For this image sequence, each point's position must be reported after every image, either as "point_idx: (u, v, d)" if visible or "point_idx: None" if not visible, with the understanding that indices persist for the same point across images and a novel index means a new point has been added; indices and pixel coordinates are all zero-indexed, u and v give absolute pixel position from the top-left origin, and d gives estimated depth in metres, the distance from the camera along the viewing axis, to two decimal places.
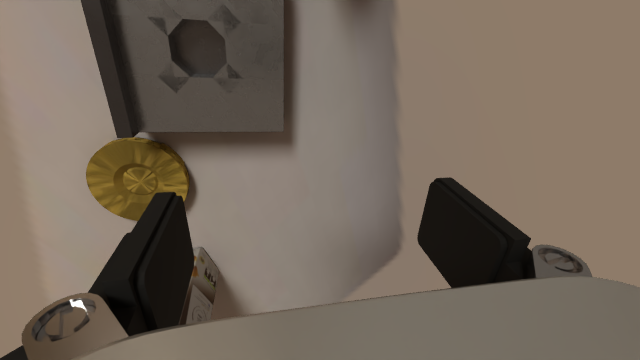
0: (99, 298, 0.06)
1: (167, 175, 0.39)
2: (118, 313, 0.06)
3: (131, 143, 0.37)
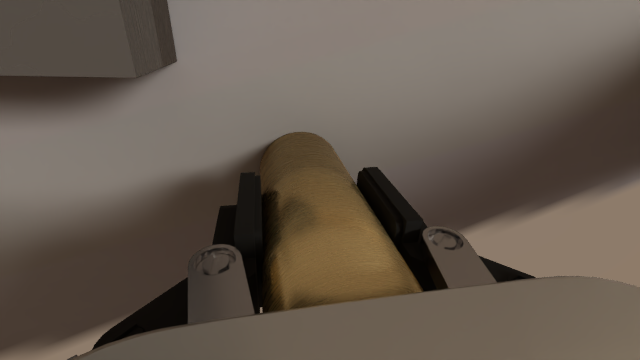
0: (233, 247, 0.07)
1: None
2: (243, 262, 0.08)
3: None
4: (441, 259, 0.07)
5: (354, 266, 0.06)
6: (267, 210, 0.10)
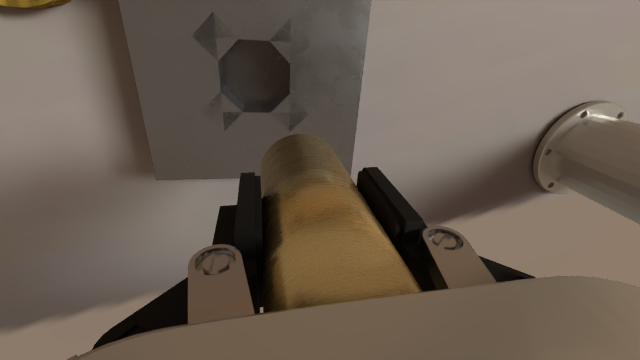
0: (233, 247, 0.07)
1: None
2: (243, 262, 0.08)
3: None
4: (441, 259, 0.07)
5: (355, 269, 0.06)
6: (268, 212, 0.10)
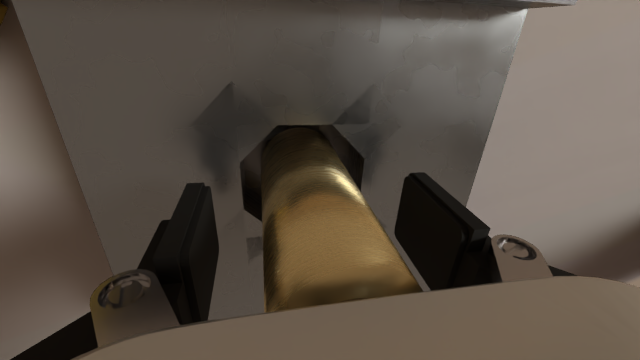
0: (151, 273, 0.07)
1: None
2: (166, 288, 0.07)
3: None
4: (505, 264, 0.07)
5: (344, 239, 0.07)
6: (268, 197, 0.11)
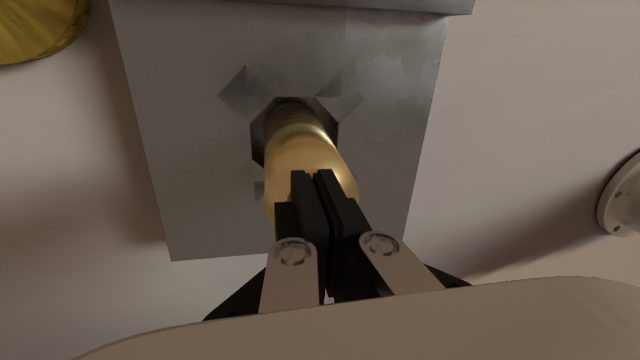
0: (306, 240, 0.08)
1: None
2: None
3: None
4: (384, 269, 0.07)
5: (309, 149, 0.12)
6: (268, 141, 0.16)
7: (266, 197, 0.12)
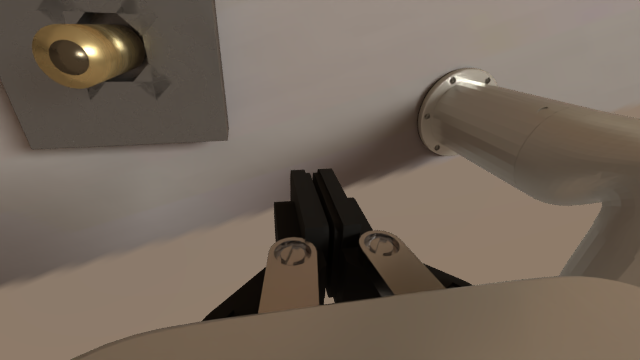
0: (306, 240, 0.08)
1: None
2: None
3: None
4: (384, 269, 0.07)
5: None
6: None
7: (33, 51, 0.19)
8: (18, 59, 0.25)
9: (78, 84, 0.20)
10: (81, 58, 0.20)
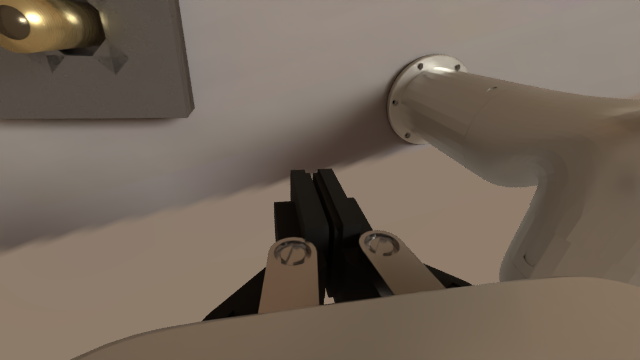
0: (306, 240, 0.08)
1: None
2: None
3: None
4: (384, 269, 0.07)
5: None
6: None
7: None
8: None
9: (21, 49, 0.22)
10: (22, 23, 0.21)
